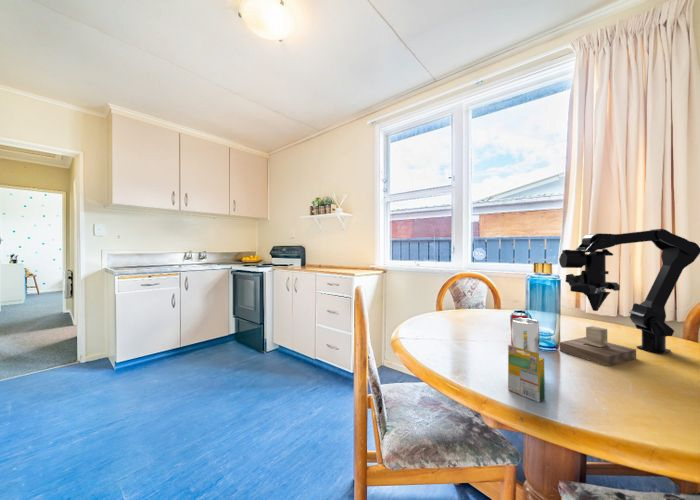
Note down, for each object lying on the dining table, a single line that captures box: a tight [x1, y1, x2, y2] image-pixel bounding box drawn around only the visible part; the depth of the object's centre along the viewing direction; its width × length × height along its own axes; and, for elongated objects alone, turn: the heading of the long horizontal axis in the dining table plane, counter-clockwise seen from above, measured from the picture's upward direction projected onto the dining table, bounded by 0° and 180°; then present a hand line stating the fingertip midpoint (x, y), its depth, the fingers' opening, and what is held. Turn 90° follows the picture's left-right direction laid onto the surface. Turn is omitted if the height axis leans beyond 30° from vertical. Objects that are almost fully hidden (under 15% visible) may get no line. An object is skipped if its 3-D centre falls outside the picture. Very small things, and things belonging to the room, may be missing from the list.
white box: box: [512, 318, 541, 355], centre depth 82 cm, size 7×7×15 cm
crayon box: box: [507, 344, 546, 403], centre depth 69 cm, size 7×3×12 cm, turn 33°
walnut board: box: [559, 336, 637, 367], centre depth 94 cm, size 15×14×3 cm
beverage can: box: [510, 312, 529, 346], centre depth 102 cm, size 5×5×12 cm
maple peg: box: [585, 325, 608, 349], centre depth 94 cm, size 4×4×9 cm
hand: (595, 310), depth 102 cm, fingers closed
